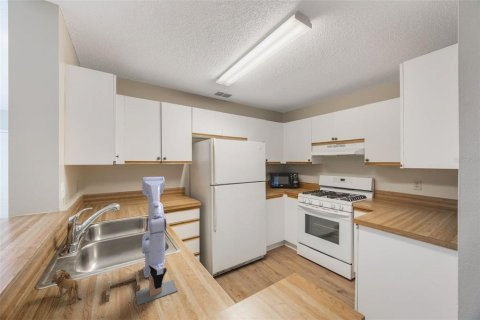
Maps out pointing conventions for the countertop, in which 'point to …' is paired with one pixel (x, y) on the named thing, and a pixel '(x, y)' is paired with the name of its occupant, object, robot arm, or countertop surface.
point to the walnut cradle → (122, 284)
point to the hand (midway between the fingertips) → (156, 283)
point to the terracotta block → (152, 288)
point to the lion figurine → (65, 284)
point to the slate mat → (145, 297)
